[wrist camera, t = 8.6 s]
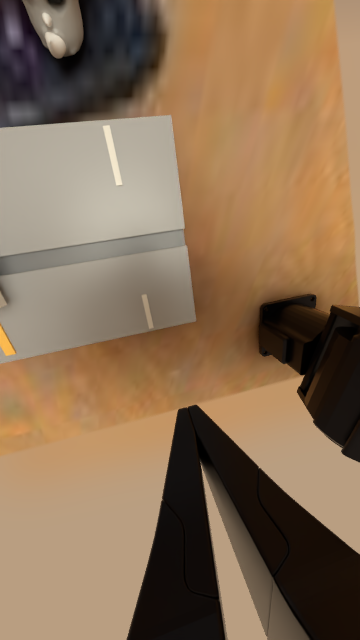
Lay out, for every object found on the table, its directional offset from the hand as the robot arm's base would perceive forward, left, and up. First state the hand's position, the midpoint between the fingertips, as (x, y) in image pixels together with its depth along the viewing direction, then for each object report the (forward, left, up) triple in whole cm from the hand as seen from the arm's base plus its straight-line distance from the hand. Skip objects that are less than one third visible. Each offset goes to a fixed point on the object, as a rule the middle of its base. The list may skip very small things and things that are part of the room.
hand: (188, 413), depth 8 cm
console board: (+7, -7, -12) cm, 16 cm away
